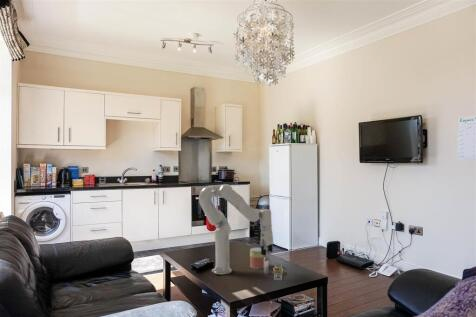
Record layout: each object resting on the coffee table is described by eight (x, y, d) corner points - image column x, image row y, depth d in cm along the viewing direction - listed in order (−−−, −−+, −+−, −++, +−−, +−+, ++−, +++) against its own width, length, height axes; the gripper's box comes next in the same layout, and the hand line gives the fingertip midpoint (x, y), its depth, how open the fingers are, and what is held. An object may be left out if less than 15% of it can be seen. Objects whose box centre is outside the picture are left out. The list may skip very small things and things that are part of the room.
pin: (267, 274, 215) (267, 259, 215) (262, 273, 217) (262, 258, 217) (270, 272, 218) (269, 257, 218) (265, 271, 220) (264, 257, 220)
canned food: (264, 269, 226) (264, 251, 226) (248, 268, 228) (248, 251, 228) (266, 264, 237) (266, 247, 237) (251, 263, 239) (251, 247, 239)
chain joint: (283, 280, 203) (283, 276, 203) (272, 280, 204) (272, 276, 204) (283, 267, 230) (282, 263, 230) (273, 266, 231) (273, 263, 231)
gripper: (265, 230, 209) (266, 257, 208) (276, 225, 223) (277, 250, 223) (255, 229, 213) (255, 255, 212) (267, 225, 227) (268, 249, 227)
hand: (267, 253), depth 218 cm, fingers open, 9 cm apart
